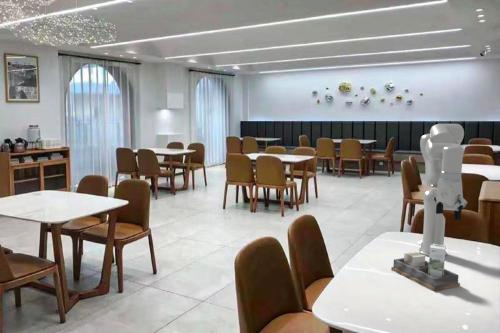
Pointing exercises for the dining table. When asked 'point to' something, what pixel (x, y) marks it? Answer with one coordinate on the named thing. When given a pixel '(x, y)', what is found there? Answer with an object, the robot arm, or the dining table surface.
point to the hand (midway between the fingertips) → (447, 216)
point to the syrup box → (436, 260)
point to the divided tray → (423, 272)
